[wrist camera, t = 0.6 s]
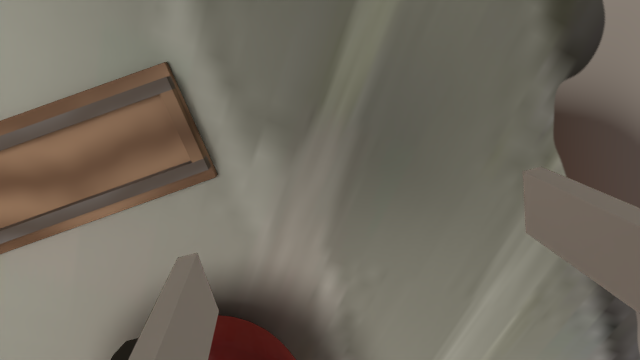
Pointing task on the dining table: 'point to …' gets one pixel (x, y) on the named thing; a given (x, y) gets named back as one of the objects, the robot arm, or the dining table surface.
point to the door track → (96, 155)
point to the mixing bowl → (245, 342)
